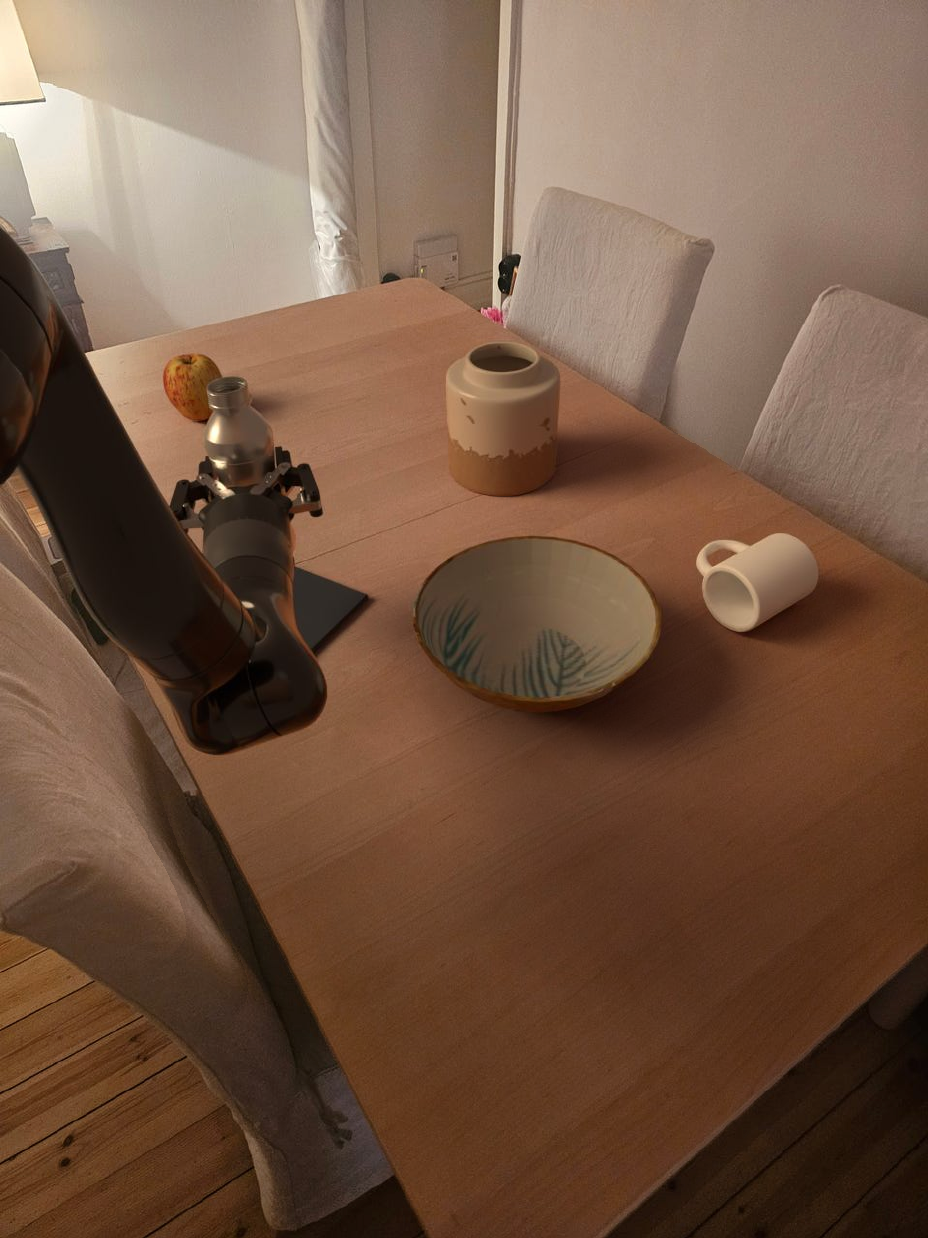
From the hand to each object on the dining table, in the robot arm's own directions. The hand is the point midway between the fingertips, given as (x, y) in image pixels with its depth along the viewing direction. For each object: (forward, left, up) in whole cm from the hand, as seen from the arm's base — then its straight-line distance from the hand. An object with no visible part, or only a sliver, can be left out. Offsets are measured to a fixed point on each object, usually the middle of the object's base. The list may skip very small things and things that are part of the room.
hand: (245, 459), depth 82 cm
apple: (+31, +42, -21) cm, 56 cm away
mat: (-1, -1, -21) cm, 21 cm away
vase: (+40, -8, -21) cm, 45 cm away
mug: (+28, -46, -21) cm, 57 cm away
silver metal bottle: (-2, -2, -11) cm, 11 cm away
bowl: (+7, -30, -21) cm, 37 cm away
